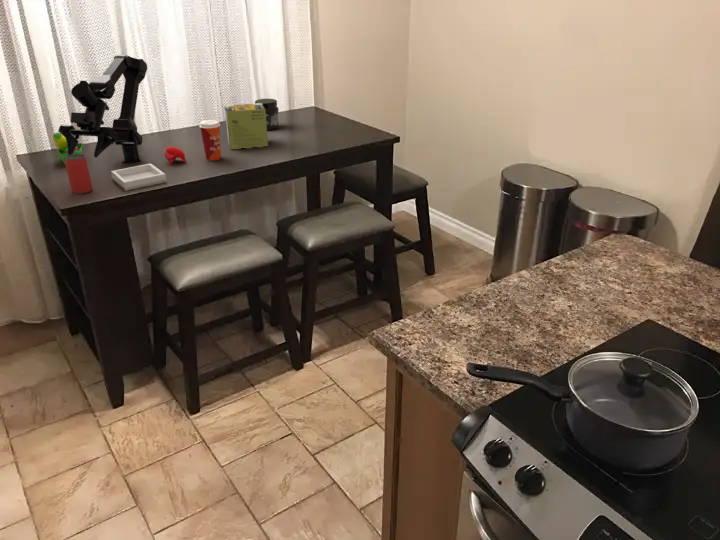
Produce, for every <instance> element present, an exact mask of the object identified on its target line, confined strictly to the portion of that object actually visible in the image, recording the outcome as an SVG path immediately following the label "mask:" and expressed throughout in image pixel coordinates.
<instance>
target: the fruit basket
mask: <svg viewBox="0 0 720 540" xmlns="http://www.w3.org/2000/svg"><path fill="white" fill-rule="evenodd" d="M52 138H53V139H52V140H53V142H54V145H55V146H56V148H57V149H58V151H57V154H58V156H59V157H60V159H61V161H62V163H63V164H64V165H65V161H66V156H68V155H69V154H68V147H67V141H66V138H65V137H64V136H63V135H62V134H61V133H60V132H58V131H57V132H54V133H53V136H52ZM82 153H83V143H82V142H78V144H77V146H76V148H75V150H74V152H73V154H82ZM82 155H83V154H82ZM65 166H66V165H65Z"/></svg>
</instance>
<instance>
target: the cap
mask: <svg viewBox="0 0 720 540" xmlns="http://www.w3.org/2000/svg"><path fill="white" fill-rule="evenodd" d="M164 157H165V159H166V160H167V162H168V163H169V165H171V166H172V165H173V164H174V163H173V162H174V161H176V160H177V158H178V159H180V160H182V161H183V162H184V163H187V159H186V154H185V153H184V151H183V150H182V149H180V148H178V147H175V146H168V147H167V148H165V151H164Z"/></svg>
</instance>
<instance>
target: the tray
mask: <svg viewBox="0 0 720 540" xmlns="http://www.w3.org/2000/svg"><path fill="white" fill-rule="evenodd" d="M110 172H111V177H112V180H113V181H114V182H115V183H116V184H117V185H119V186H120V187H121V188H122V189H123V190H124V191H126V192H127V191H132V190H136V189H141V187H142V188H145V186H146V187H152V186H155V184H156V185H159V184H164V183H167V178H166V173H164V172H163V171H161V170H160V169H159V168H157V167H156V166H155V165H154V164H152V163H151V162H150V163H144V164H141V165H135V166H130V167H125V168H121V169H115V170H111V171H110ZM131 189H132V190H131Z"/></svg>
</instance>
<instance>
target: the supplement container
mask: <svg viewBox="0 0 720 540" xmlns="http://www.w3.org/2000/svg"><path fill="white" fill-rule="evenodd" d="M255 103H262V105H263V106H264V108H265V111H266V125H267V130H269V131H274V130H273V129H275V130H277V129H279V127H280V119H279V118H280V115H279V114H280V113H279V107H278V100H276V99H274V98H259V99H257V100H255V101H254V104H255Z"/></svg>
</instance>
